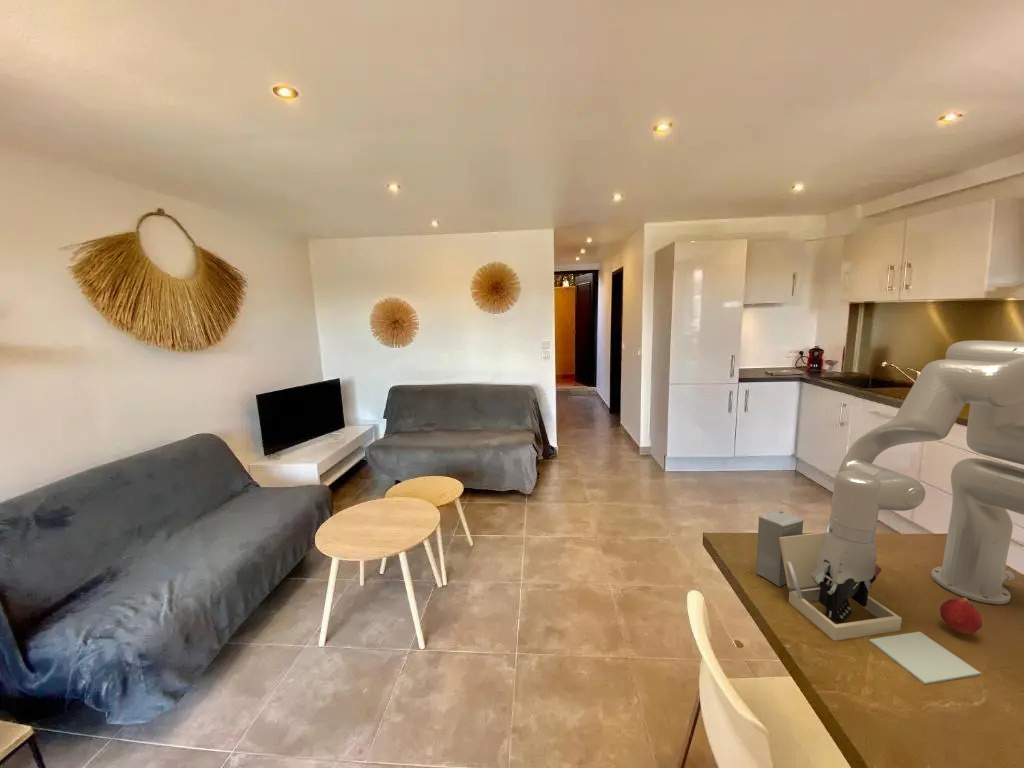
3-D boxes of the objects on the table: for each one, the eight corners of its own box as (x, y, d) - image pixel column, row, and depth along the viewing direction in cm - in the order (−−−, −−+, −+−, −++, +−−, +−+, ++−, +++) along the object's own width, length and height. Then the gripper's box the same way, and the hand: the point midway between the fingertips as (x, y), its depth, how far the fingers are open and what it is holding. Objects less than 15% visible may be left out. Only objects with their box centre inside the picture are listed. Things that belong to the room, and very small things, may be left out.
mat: (919, 633, 84) (919, 631, 84) (980, 674, 75) (980, 672, 74) (869, 640, 83) (869, 639, 83) (924, 684, 73) (924, 682, 73)
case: (830, 582, 101) (836, 529, 98) (899, 630, 85) (909, 570, 83) (774, 589, 99) (778, 536, 96) (834, 640, 83) (841, 578, 81)
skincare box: (779, 588, 99) (785, 528, 96) (752, 571, 105) (756, 514, 103) (801, 578, 102) (807, 520, 100) (773, 563, 109) (778, 507, 106)
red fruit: (931, 626, 86) (937, 592, 85) (945, 618, 88) (951, 585, 87) (970, 646, 81) (977, 611, 79) (984, 637, 83) (991, 602, 81)
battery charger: (845, 627, 86) (852, 579, 84) (824, 617, 89) (830, 570, 87) (858, 614, 90) (864, 567, 88) (837, 604, 93) (842, 558, 91)
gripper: (869, 517, 91) (860, 588, 94) (800, 524, 89) (792, 597, 92) (906, 535, 84) (894, 611, 87) (831, 543, 81) (822, 622, 84)
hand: (842, 603), depth 89 cm, fingers closed on battery charger, 7 cm apart
